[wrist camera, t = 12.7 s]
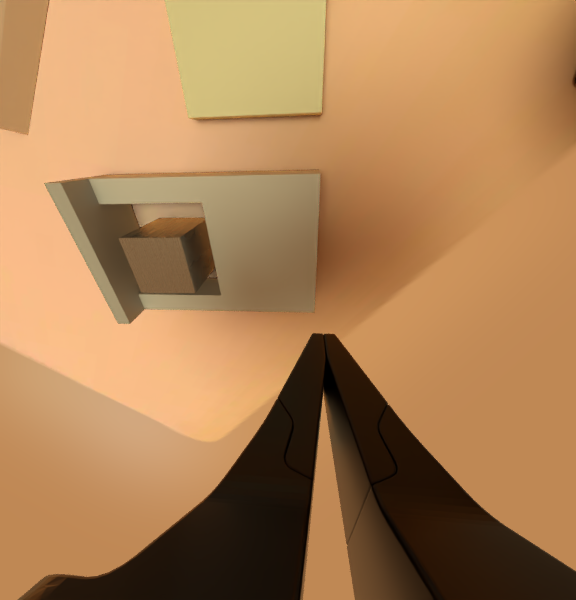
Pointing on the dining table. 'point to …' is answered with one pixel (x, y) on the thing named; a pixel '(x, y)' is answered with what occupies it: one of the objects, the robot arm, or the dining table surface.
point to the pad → (249, 56)
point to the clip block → (170, 255)
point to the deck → (221, 229)
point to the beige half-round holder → (19, 60)
